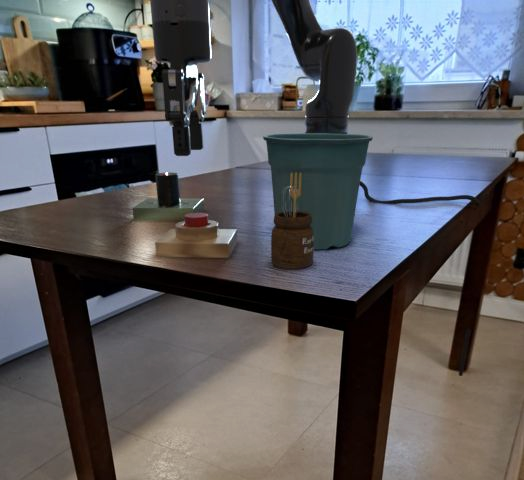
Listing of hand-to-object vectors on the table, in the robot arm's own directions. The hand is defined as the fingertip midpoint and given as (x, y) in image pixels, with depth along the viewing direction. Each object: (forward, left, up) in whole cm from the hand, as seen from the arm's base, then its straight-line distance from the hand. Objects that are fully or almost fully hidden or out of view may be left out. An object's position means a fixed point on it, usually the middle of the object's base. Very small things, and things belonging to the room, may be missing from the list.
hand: (189, 152), depth 75 cm
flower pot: (-18, -6, -14) cm, 24 cm away
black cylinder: (+11, -25, -12) cm, 29 cm away
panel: (+11, -25, -14) cm, 31 cm away
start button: (0, 0, -11) cm, 11 cm away
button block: (0, 0, -14) cm, 14 cm away
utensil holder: (-15, +7, -14) cm, 22 cm away
